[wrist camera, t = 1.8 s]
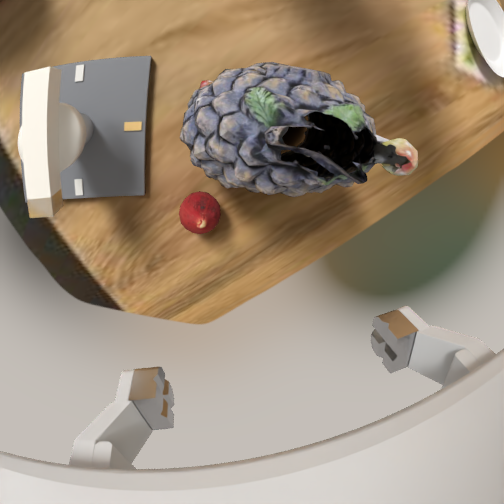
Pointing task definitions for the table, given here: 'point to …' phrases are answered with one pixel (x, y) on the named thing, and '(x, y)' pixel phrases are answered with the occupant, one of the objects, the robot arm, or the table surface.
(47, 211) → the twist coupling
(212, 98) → the pineapple fairy house
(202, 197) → the onion
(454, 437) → the robot arm
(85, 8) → the table surface
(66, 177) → the lock base
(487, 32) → the white plate
